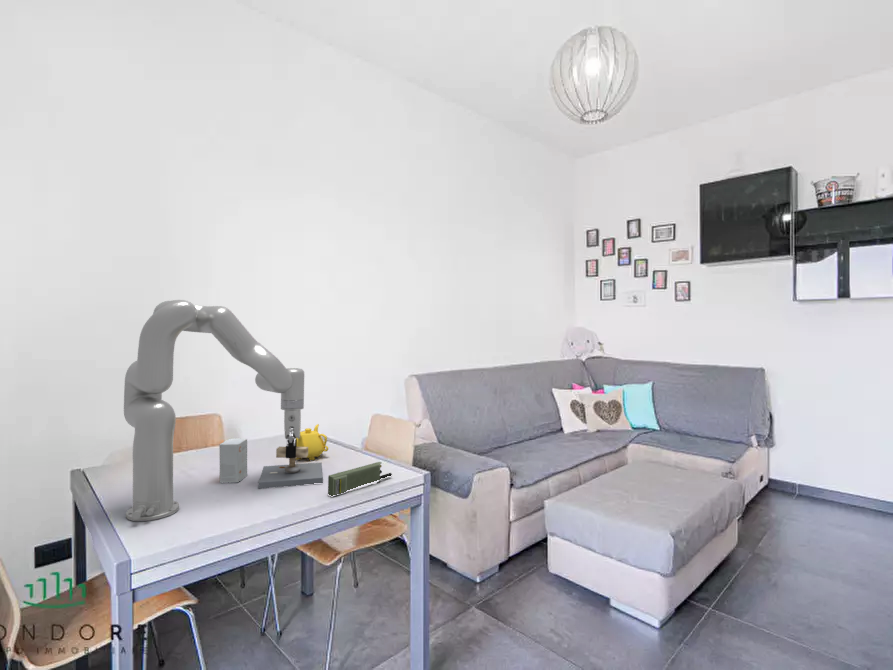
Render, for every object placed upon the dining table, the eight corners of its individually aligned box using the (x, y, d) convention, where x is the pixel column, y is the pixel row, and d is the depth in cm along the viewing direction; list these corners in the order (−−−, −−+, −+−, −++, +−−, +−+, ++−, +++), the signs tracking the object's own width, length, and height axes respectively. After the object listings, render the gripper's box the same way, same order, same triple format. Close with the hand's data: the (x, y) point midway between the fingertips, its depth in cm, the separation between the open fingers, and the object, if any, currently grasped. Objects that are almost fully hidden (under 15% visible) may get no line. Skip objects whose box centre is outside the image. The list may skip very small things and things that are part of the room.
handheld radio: (326, 495, 146) (387, 476, 164) (332, 498, 143) (393, 479, 162) (326, 474, 145) (388, 458, 164) (333, 477, 143) (394, 460, 162)
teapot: (318, 465, 176) (319, 435, 176) (280, 464, 177) (281, 433, 177) (336, 451, 196) (337, 424, 195) (302, 450, 197) (302, 422, 197)
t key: (308, 468, 164) (309, 446, 164) (304, 473, 159) (304, 449, 159) (280, 468, 164) (280, 445, 164) (275, 473, 159) (275, 449, 159)
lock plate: (322, 483, 156) (322, 477, 156) (258, 488, 150) (258, 482, 150) (321, 467, 173) (321, 461, 173) (263, 471, 168) (263, 465, 168)
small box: (229, 475, 163) (229, 438, 163) (247, 475, 163) (247, 438, 163) (218, 483, 155) (218, 444, 155) (238, 483, 155) (238, 444, 155)
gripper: (303, 408, 154) (302, 460, 154) (304, 400, 171) (303, 447, 171) (279, 408, 152) (278, 461, 152) (282, 400, 168) (281, 448, 169)
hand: (291, 454), depth 161 cm, fingers open, 9 cm apart
